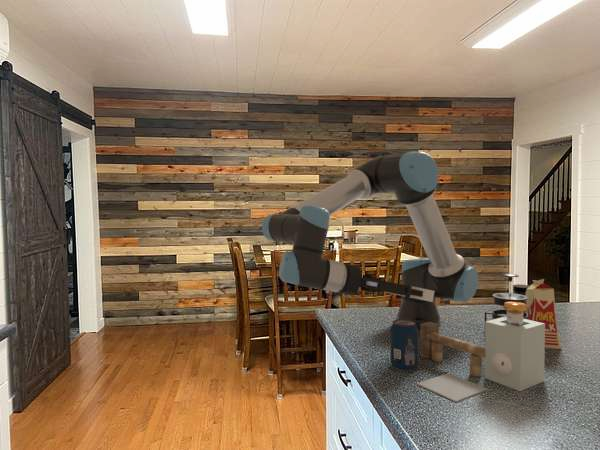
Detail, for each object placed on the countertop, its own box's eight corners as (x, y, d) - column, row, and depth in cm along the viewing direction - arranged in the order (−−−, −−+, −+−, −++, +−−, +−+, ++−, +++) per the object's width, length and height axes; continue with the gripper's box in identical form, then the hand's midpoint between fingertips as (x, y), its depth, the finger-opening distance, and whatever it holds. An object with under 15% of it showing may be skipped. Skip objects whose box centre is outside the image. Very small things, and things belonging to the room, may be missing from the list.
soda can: (400, 360, 118) (400, 317, 118) (422, 367, 113) (423, 321, 113) (385, 367, 113) (385, 322, 113) (408, 374, 108) (408, 327, 108)
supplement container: (510, 313, 166) (511, 286, 166) (514, 309, 172) (514, 283, 171) (530, 316, 162) (530, 288, 162) (533, 312, 167) (533, 285, 167)
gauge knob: (499, 332, 105) (499, 303, 104) (511, 329, 107) (511, 300, 107) (518, 337, 101) (519, 307, 100) (530, 334, 103) (530, 304, 103)
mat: (417, 384, 102) (417, 383, 102) (447, 374, 108) (447, 373, 108) (456, 402, 93) (456, 401, 93) (487, 390, 99) (487, 388, 99)
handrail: (419, 355, 122) (420, 324, 121) (430, 352, 124) (430, 321, 123) (481, 379, 105) (481, 342, 105) (492, 375, 107) (492, 339, 107)
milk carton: (561, 348, 126) (562, 280, 125) (527, 347, 128) (528, 279, 127) (550, 339, 135) (551, 275, 134) (518, 337, 137) (519, 274, 136)
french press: (531, 353, 122) (532, 273, 121) (530, 364, 114) (531, 278, 113) (486, 347, 128) (487, 270, 127) (482, 357, 120) (483, 275, 119)
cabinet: (479, 380, 105) (479, 322, 104) (508, 369, 111) (509, 315, 110) (514, 393, 97) (515, 332, 96) (544, 381, 103) (545, 323, 103)
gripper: (325, 289, 119) (396, 303, 123) (355, 297, 94) (442, 314, 98) (330, 262, 119) (400, 277, 123) (361, 264, 95) (448, 282, 99)
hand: (419, 293), depth 111 cm, fingers open, 13 cm apart
